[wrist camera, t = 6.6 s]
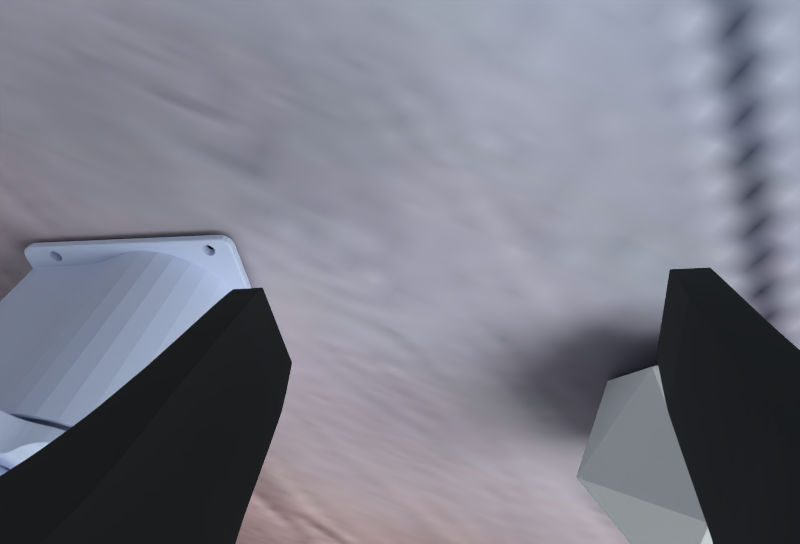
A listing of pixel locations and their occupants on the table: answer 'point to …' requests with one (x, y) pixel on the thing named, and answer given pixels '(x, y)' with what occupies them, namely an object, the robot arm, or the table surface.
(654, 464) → the die
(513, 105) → the table surface
